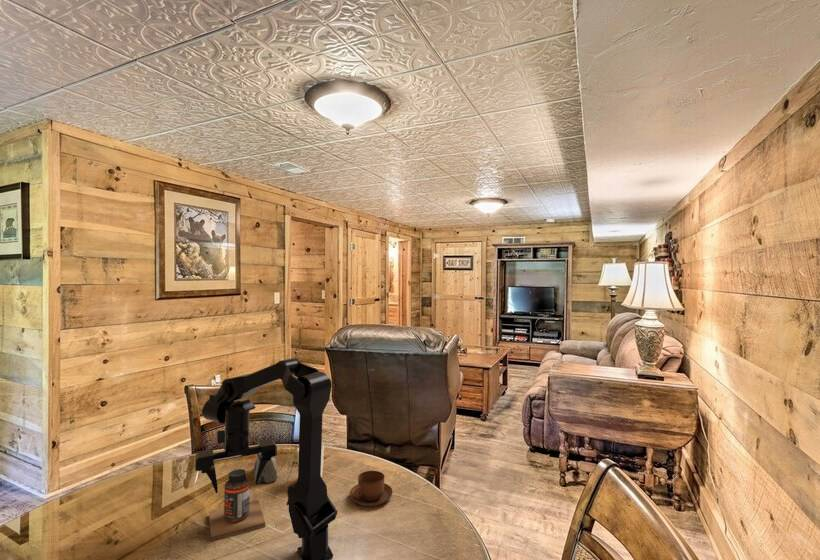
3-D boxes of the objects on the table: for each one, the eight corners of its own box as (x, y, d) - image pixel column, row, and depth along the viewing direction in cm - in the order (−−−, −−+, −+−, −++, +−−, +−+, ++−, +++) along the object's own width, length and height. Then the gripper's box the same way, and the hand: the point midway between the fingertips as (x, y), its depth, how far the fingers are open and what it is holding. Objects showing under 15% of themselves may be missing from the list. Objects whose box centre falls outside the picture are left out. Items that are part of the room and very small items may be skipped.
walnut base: (265, 526, 100) (265, 522, 100) (211, 541, 94) (211, 536, 94) (258, 503, 110) (258, 499, 110) (209, 515, 104) (209, 511, 104)
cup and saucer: (382, 514, 106) (382, 490, 106) (341, 505, 110) (341, 482, 110) (398, 491, 117) (398, 470, 117) (361, 485, 121) (361, 464, 121)
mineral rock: (263, 464, 135) (264, 433, 135) (293, 466, 133) (293, 436, 133) (240, 482, 122) (241, 449, 122) (273, 485, 120) (273, 451, 120)
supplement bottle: (218, 519, 101) (219, 474, 101) (238, 508, 106) (239, 464, 106) (234, 526, 98) (235, 479, 98) (254, 514, 103) (255, 469, 103)
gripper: (270, 411, 114) (269, 467, 114) (195, 422, 105) (194, 482, 105) (277, 423, 104) (277, 484, 104) (195, 436, 95) (195, 503, 95)
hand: (236, 487), depth 102 cm, fingers open, 9 cm apart
